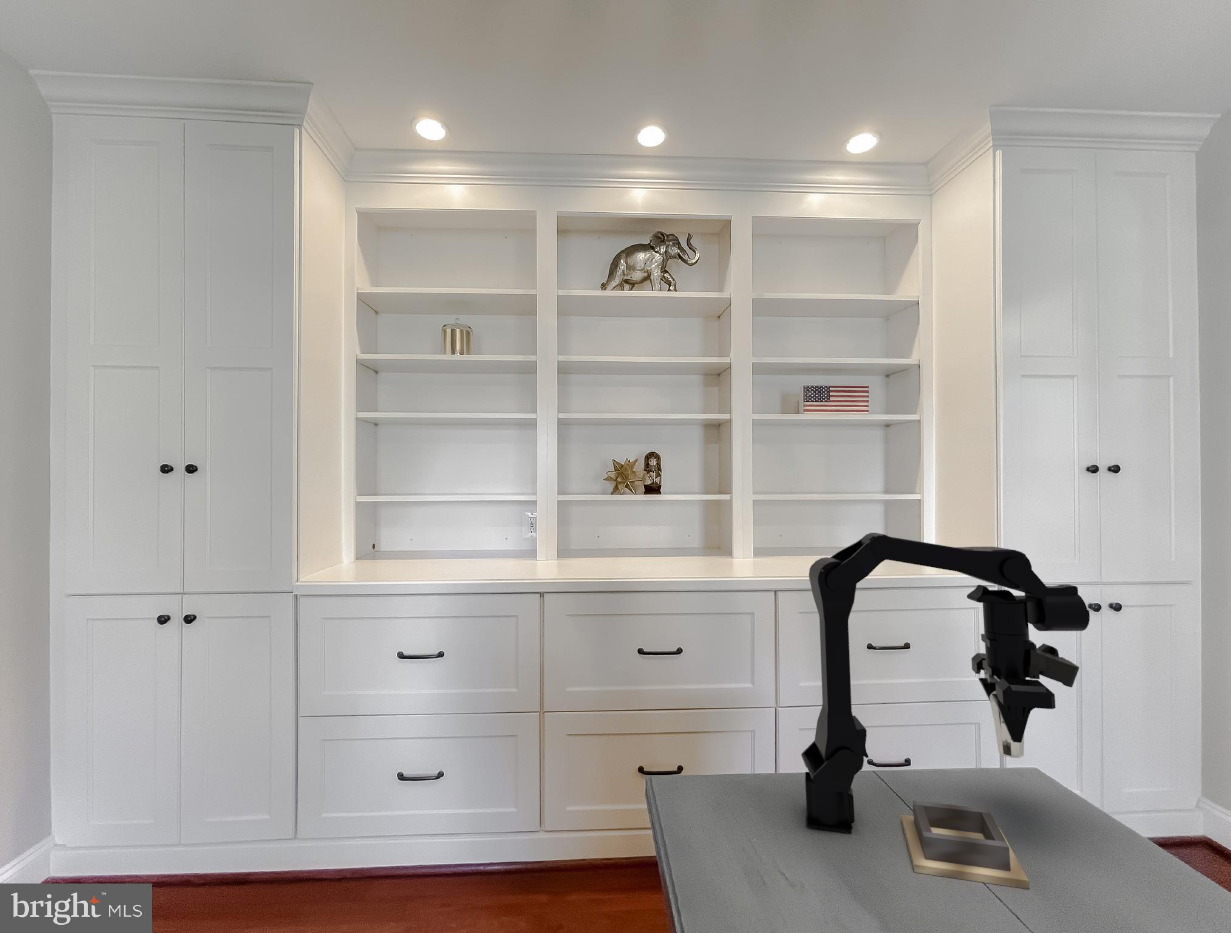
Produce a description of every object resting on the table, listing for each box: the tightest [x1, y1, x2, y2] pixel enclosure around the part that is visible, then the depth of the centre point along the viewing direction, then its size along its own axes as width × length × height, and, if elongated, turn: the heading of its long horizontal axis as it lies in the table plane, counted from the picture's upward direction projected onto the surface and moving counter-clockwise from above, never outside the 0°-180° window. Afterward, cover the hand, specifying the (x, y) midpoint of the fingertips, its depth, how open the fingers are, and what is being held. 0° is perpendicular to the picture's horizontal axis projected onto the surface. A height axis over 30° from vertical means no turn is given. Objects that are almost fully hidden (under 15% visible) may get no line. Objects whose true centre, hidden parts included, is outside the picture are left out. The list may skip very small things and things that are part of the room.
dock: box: [900, 800, 1030, 890], centre depth 84 cm, size 13×13×4 cm
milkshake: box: [989, 691, 1025, 759], centre depth 91 cm, size 4×5×10 cm
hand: (1012, 736), depth 91 cm, fingers closed on milkshake, 4 cm apart
